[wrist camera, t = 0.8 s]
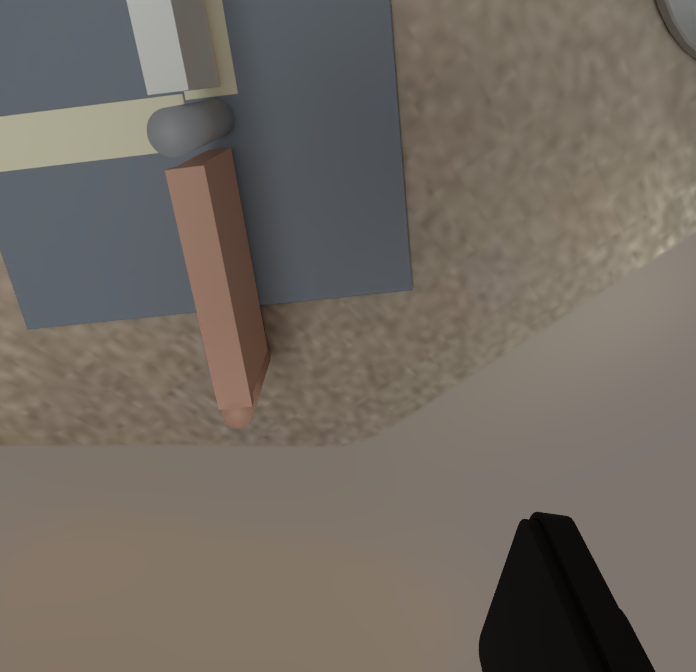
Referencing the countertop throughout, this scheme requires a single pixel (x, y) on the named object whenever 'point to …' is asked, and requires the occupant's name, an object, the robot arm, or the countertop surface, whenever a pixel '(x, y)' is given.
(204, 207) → the fence panel
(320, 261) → the board
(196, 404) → the countertop surface
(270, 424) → the countertop surface
